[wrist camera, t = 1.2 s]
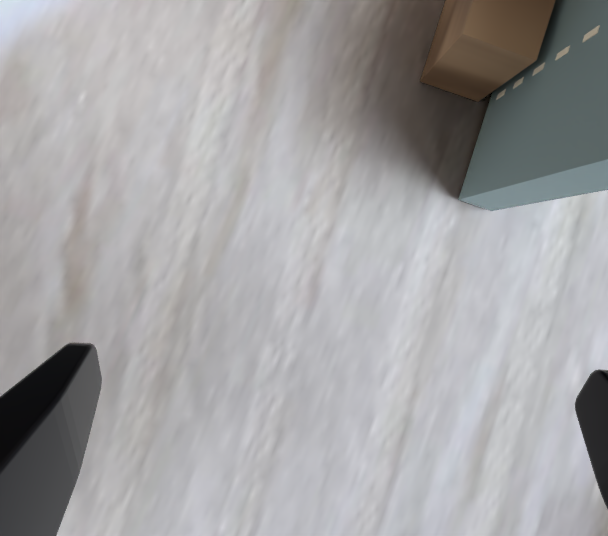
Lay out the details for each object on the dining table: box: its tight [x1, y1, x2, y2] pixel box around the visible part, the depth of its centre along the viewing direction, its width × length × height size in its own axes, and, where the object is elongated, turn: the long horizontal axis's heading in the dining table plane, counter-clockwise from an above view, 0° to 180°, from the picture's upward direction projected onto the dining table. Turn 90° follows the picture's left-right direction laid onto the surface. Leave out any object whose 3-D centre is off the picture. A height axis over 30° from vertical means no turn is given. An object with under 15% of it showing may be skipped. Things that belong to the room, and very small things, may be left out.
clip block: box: [420, 0, 555, 102], centre depth 21 cm, size 5×8×5 cm, turn 72°
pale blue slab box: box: [458, 0, 608, 211], centre depth 17 cm, size 8×2×11 cm, turn 162°
